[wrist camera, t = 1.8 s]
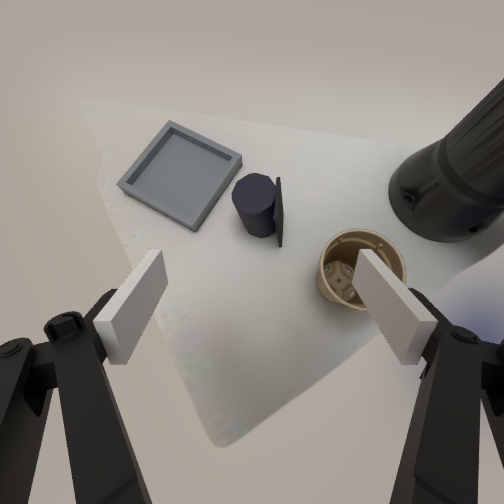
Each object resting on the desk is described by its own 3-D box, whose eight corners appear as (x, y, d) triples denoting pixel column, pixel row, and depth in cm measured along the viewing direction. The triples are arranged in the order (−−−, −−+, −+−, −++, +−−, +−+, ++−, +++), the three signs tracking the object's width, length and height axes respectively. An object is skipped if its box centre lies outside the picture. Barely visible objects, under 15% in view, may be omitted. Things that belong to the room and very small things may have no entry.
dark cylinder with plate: (296, 215, 38) (300, 177, 28) (281, 248, 37) (280, 220, 27) (252, 199, 40) (241, 158, 30) (237, 230, 39) (220, 198, 29)
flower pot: (317, 240, 37) (334, 216, 29) (378, 263, 36) (414, 245, 28) (296, 298, 35) (308, 290, 27) (360, 325, 34) (395, 325, 26)
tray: (242, 164, 41) (241, 154, 39) (196, 232, 38) (191, 226, 36) (174, 131, 43) (169, 119, 41) (124, 192, 40) (116, 184, 38)
